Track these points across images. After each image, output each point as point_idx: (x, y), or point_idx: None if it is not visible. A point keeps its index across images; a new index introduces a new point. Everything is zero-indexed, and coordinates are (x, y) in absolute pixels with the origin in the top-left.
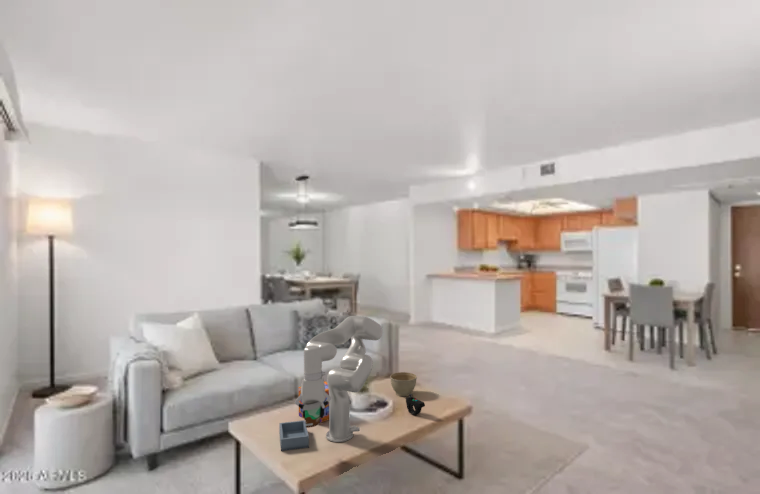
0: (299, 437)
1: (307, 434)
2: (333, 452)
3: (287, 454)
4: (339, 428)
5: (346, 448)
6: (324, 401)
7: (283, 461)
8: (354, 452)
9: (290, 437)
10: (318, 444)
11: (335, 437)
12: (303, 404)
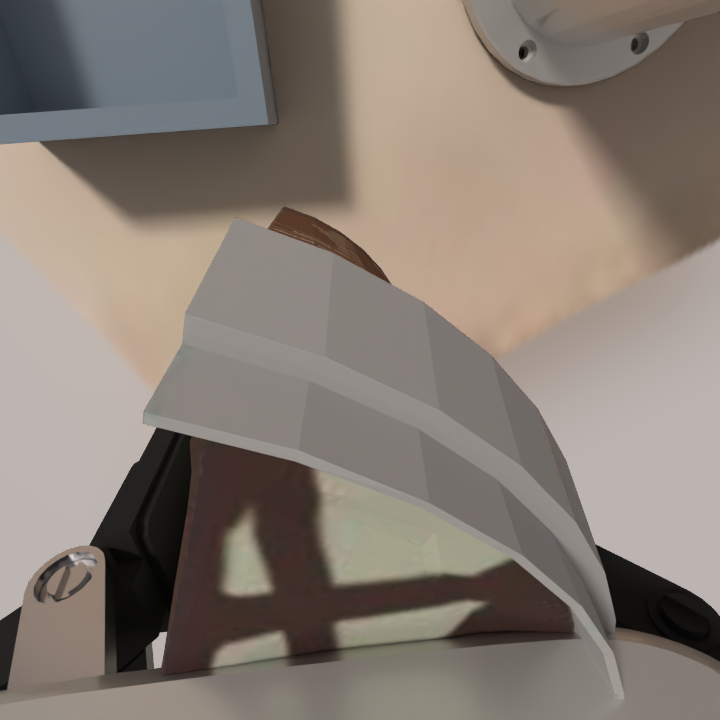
0: (169, 130)
1: (251, 72)
2: (459, 252)
3: (115, 214)
4: (627, 26)
5: (562, 209)
6: (634, 629)
7: (114, 312)
8: (591, 279)
9: (63, 113)
10: (363, 77)
11: (537, 29)
12: (39, 677)
